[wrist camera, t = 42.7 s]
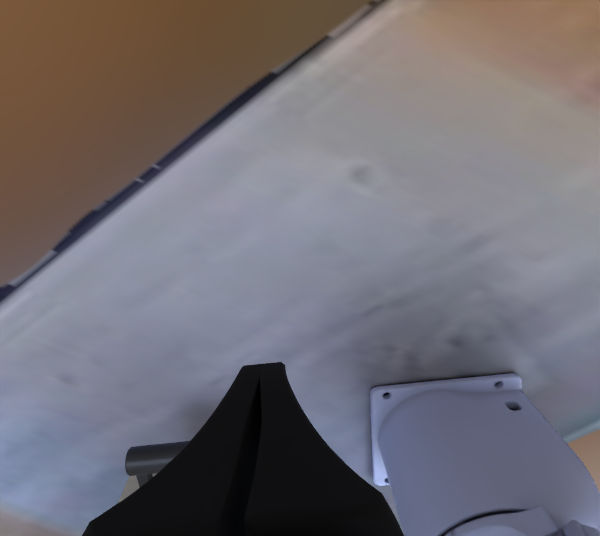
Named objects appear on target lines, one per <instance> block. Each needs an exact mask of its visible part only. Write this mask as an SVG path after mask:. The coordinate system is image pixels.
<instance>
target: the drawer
mask: <svg viewBox="0 0 600 536" xmlns="http://www.w3.org/2000/svg"><path fill="white" fill-rule="evenodd" d="M189 442H190V441H186V442H176V443H166V444H156V445H145V446H135V447H131V448H130V449H129V450H128V452H127V455H126V461H125V467H126V472H127V474H128V475H129V478H128V481H127V483H126V485H125V488H124V490H123V492H122V495H121V497H120V500H119V502H121V501H122V500H124V499H125V498H127V497H128V496H129V495H131V494H132V493H133V492H135V491H136V490H137V489H139V488H140V487H141V486H142V485H144V484H145V483H146V482H147V481H149V480H150V479H151V478H152V477H154V476H155V475H156V474H157V473H158V472H160V471H161V470H162V469H163V468H164V467H165V466H166V465H167V464H168V463H169V462H170V461H171V460H172V459H174V458H175V457H176V456H177V455H178V454H179V453H180V452H181V451H182V450H183V449H184V448H185V447H186V445H187V444H188V443H189ZM119 502H118V503H119Z"/></svg>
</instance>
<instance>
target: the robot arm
mask: <svg viewBox="0 0 600 536" xmlns="http://www.w3.org/2000/svg"><path fill="white" fill-rule="evenodd" d="M499 381H500V382H499ZM496 382H499V383H498V384H496V385H495V383H496ZM521 389H522V379H521V377H520V376H519V375H518V374H516V373H510V374H500V375H490V376H480V377H470V378H460V379H449V380H439V381H429V382H419V383H409V384H398V385H388V386H378V387H374V388H373V389H372V390H371V391H370V414H371V444H372V473H373V481H374V483H375V484H376V485H378V486H384V485H390V487H391V490H392V494H393V497H394V501H395V504H396V508H397V511H398V515H399V518H400V522H401V525H402V529H403V532H404V535H403V533H402V530H401V528H400V526H399V524H398V522H397V520H396V518H395V516H394V514H393V512H392V510H391V508H390V507H389V505H388V503H387V501H386V500H385V498H384V496H383V495H382V493H381V492H379V491H378V490H376V489H375V488H374V487H372V486H371V485H370V484H368V483H367V482H366V481H365V480H364V479H362V478H361V477H360V476H359V475H358V474H356V473H355V472H354V471H353V470H352V469H351V468H350V467H349V466H347V465H346V464H345V463H344V461H343V460H342V459H341V458H340V457H339V456H338V455H337V454H336V453H335V452H334V451H333V450H332V449H331V448H330V447H329V446H328V445H327V443H326V442H325V441H324V440H323V439H322V437H321V436H320V435H319V434H318V432H317V431H316V430H315V428H314V427H313V425H312V424H311V423H310V421H309V420H308V418H307V416H306V415H305V413H304V412H303V410H302V408H301V406H300V405H299V403H298V401H297V399H296V397H295V395H294V393H293V391H292V389H291V386H290V384H289V381H288V379H287V375H286V370H285V365H284V364H283V363H282V362H277V363H267V364H257V365H247V366H243V367H242V368H241V369H240V371H239V373H238V375H237V377H236V379H235V380H234V382H233V384H232V385H231V387H230V389H229V390H228V392H227V393H226V395H225V396H224V398H223V399H222V401H221V402H220V404H219V405H218V407H217V408H216V410H215V411H214V412H213V414H212V415H211V416H210V418H209V419H208V420H207V422H206V423H205V424H204V426H203V427H202V428H201V429H200V431H199V432H198V433H197V434H196V435H195V437H194V438H193V439H192V440H191V441H190V442H189V443H188V444H187V445H186V447H185V448H184V449H183V450H182V451H181V452H180V453H179V454H178V455H177V456H176V457H175V458H174V459H172V460H171V461H170V462H169V463H168V464H167V465H166V466H165V467H164V468H163V469H162V470H161V471H160V472H158V473H157V474H156V475H155V476H154V477H152V478H151V479H150V480H149V481H147V482H146V483H145V484H144V485H142V486H141V487H140V488H139V489H137V490H136V491H135V492H133V493H132V494H131V495H129V496H128V497H127V498H125V499H124V500H122V501H121V502H119V503H118V504H116V505H115V506H113V507H112V508H110V509H109V510H107V511H106V512H104V513H103V514H101V515H100V516H98V517H97V518H95V519H94V520H92V521H91V522H90V523H89V524H88V526H87V528H86V530H85V532H84V533H83V535H82V536H600V493H599V491H598V488H597V487H596V484H595V483H594V480H593V479H592V477H591V475H590V473H589V472H588V470H587V468H586V467H585V465H584V464H583V462H582V461H581V460H580V459H579V457H578V456H577V455H576V454H575V452H574V451H573V450H572V449H571V448H570V447H569V445H568V444H567V443H566V442H565V441H564V440H563V438H562V437H561V436H560V435H559V434H558V433H557V431H556V430H555V429H554V428H553V427H552V426H551V424H550V423H549V422H548V421H547V420H546V418H545V417H544V416H543V415H542V414H541V413H540V411H539V410H538V409H537V408H536V407H535V406H534V404H533V403H532V402H531V401H530V400H529V399H528V397H527V396H526V395H525V394H524V393H523V392H522V391H521ZM386 392H388V393H389V394H388V395H383V394H384V393H386ZM387 477H388V478H387Z"/></svg>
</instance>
